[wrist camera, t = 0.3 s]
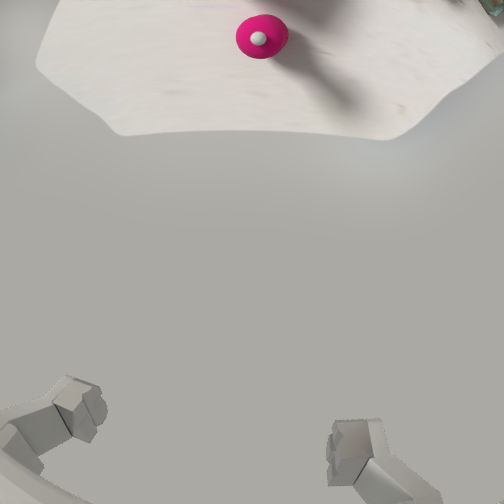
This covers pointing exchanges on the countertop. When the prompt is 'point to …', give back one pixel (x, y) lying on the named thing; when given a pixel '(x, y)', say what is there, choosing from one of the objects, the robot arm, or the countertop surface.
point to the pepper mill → (261, 36)
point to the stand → (493, 6)
